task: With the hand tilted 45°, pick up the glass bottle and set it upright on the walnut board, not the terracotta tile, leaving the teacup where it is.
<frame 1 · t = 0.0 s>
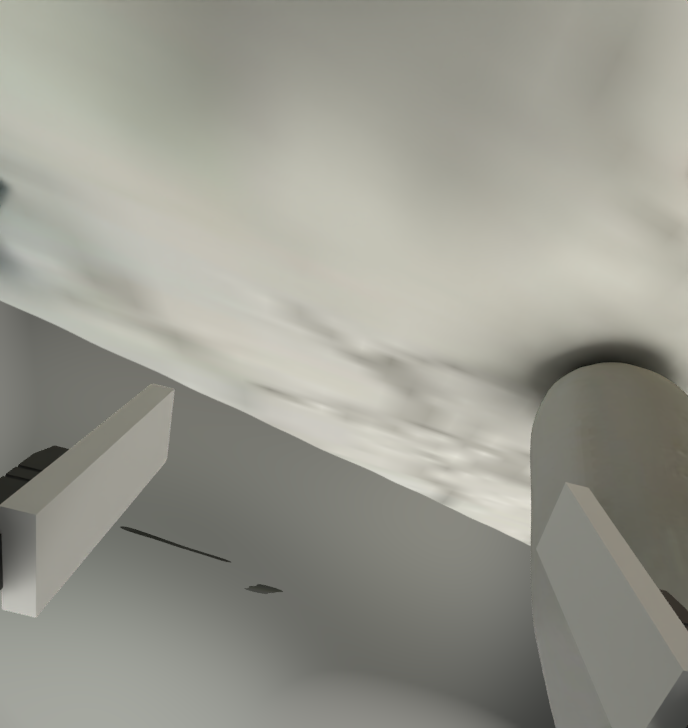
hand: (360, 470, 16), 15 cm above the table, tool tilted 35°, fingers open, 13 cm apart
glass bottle: (605, 378, 34), on the table
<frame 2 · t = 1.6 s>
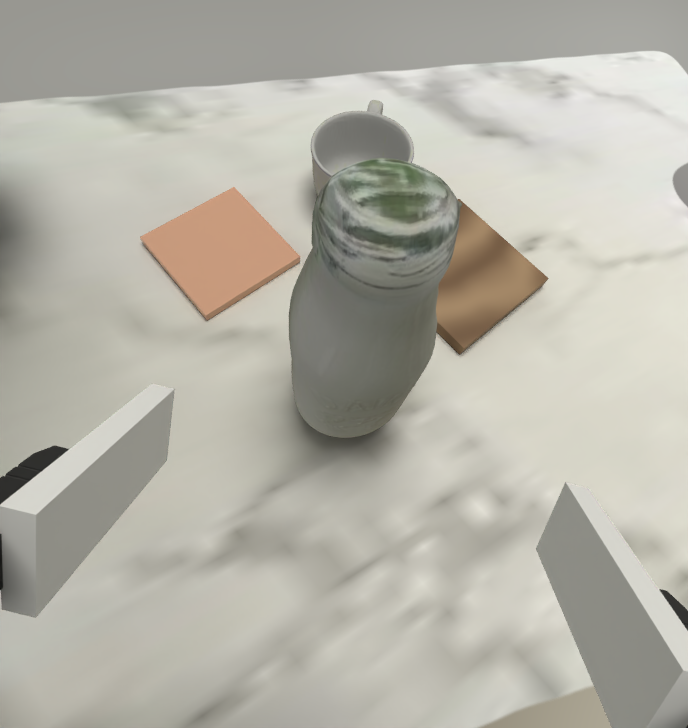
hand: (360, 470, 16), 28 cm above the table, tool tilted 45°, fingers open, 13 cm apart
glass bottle: (340, 400, 47), on the table
teacup: (359, 191, 58), on the table
terracotta tile: (221, 252, 53), on the table
walnut board: (457, 275, 54), on the table
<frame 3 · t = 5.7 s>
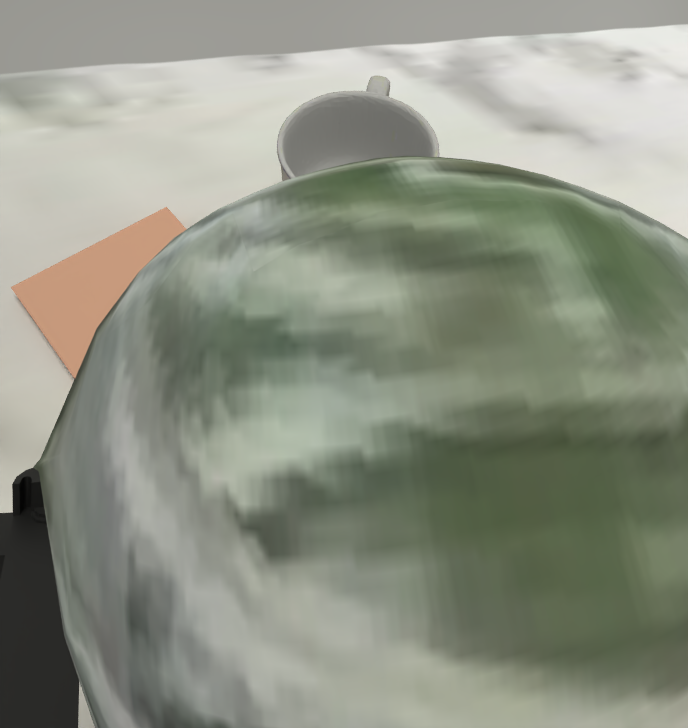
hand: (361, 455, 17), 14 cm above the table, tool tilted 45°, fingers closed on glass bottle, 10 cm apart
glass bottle: (321, 563, 28), on the table, touching gripper
teacup: (354, 211, 40), on the table
terracotta tile: (142, 309, 34), on the table
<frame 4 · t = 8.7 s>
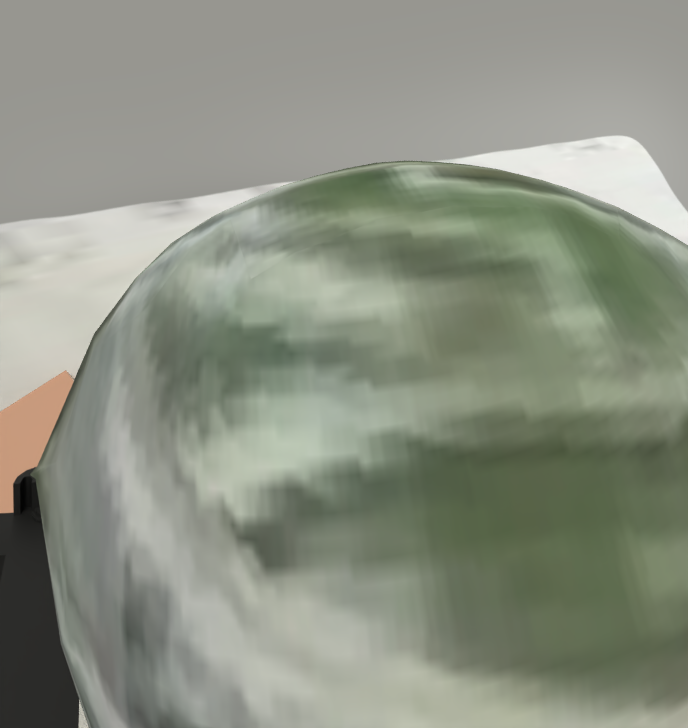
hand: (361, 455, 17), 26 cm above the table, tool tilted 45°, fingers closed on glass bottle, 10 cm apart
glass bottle: (320, 565, 28), point 12 cm above the table, touching gripper
terracotta tile: (41, 468, 40), on the table
when the fingers open (17 cm above the table, at t = 12.0 s): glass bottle drops 1 cm, resting on walnut board.
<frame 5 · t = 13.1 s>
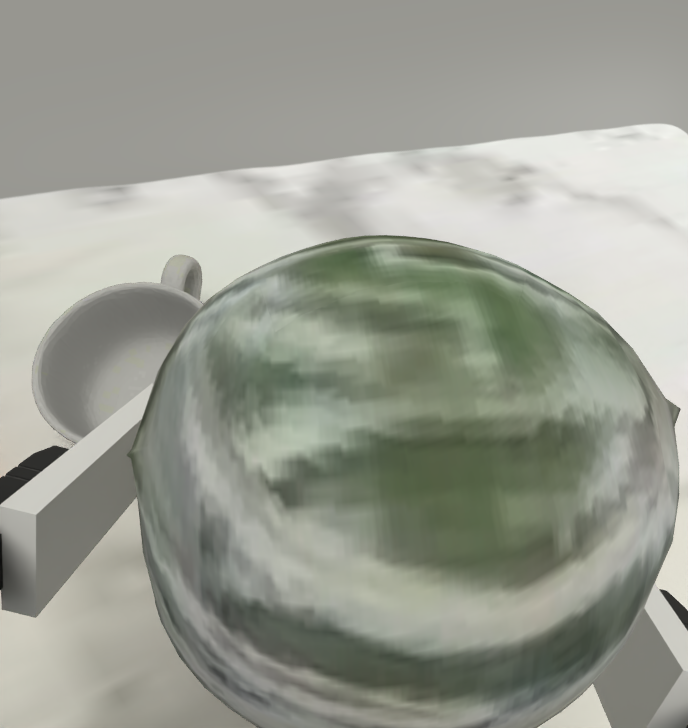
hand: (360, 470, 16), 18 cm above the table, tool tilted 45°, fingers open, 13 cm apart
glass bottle: (316, 557, 30), point 1 cm above the table, touching walnut board
teacup: (175, 386, 36), on the table
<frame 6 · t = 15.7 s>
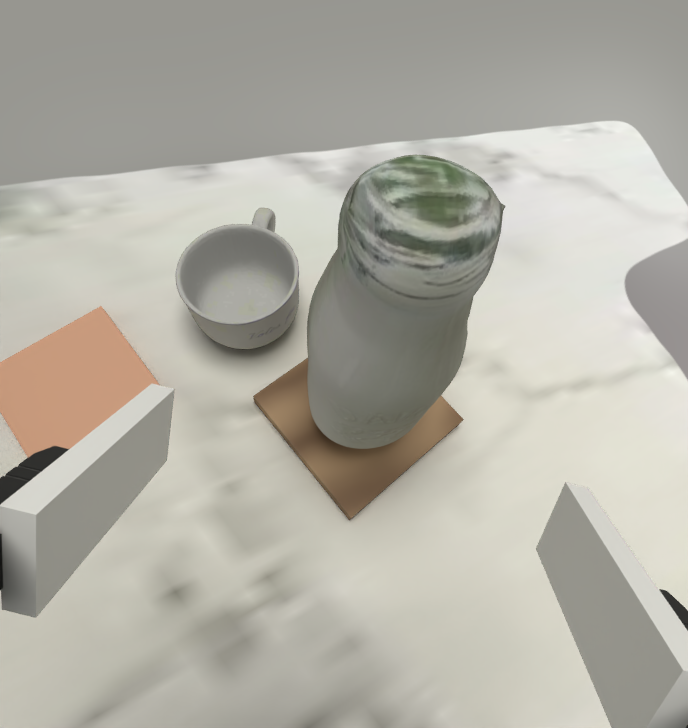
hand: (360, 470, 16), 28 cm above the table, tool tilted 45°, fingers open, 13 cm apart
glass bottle: (356, 408, 45), point 1 cm above the table, touching walnut board
teacup: (253, 303, 51), on the table
terracotta tile: (78, 389, 45), on the table
walnut board: (357, 413, 46), on the table
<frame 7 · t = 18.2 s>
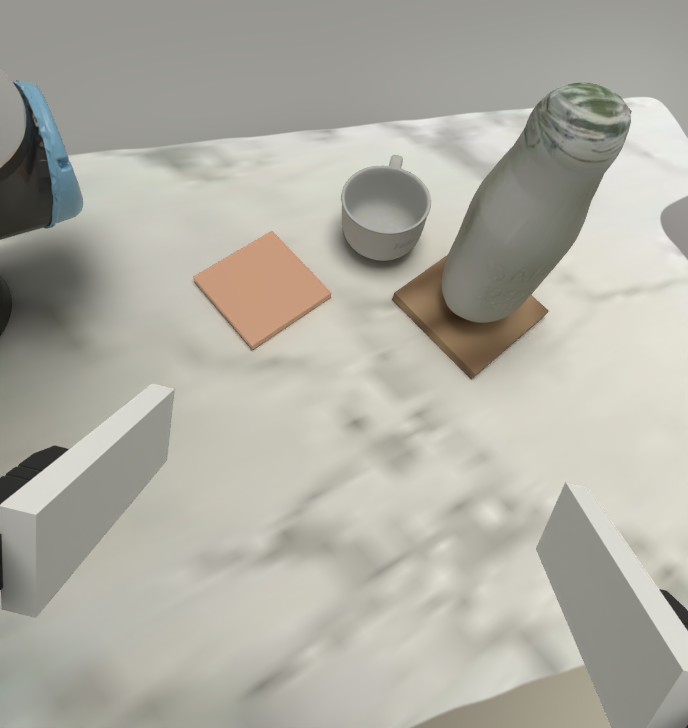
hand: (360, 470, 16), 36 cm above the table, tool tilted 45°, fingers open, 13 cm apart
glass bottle: (469, 302, 61), point 1 cm above the table, touching walnut board
teacup: (380, 231, 66), on the table
terracotta tile: (263, 289, 60), on the table
walnut board: (468, 308, 62), on the table
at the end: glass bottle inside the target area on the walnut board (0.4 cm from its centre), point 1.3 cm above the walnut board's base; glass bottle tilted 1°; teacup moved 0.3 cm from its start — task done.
